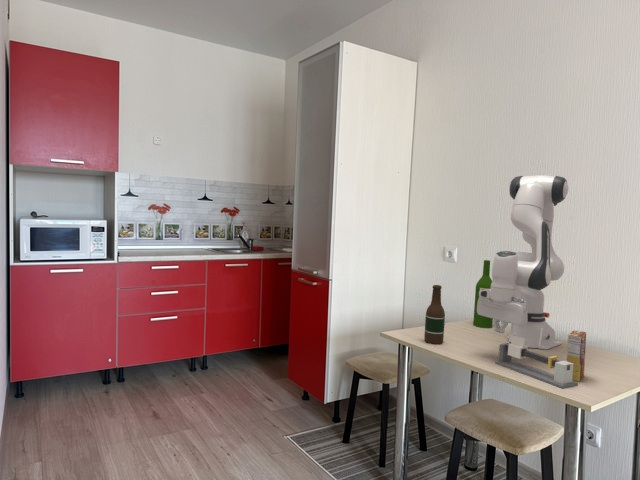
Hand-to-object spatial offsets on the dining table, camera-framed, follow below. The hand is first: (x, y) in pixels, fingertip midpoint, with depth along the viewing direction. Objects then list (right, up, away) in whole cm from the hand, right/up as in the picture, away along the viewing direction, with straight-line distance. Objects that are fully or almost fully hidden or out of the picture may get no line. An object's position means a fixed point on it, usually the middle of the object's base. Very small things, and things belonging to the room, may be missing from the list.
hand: (499, 332), depth 170 cm
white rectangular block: (+4, -7, -6) cm, 10 cm away
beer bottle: (-19, -9, +23) cm, 31 cm away
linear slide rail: (+7, -12, -12) cm, 18 cm away
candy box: (+20, -13, -14) cm, 28 cm away
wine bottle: (+14, -8, +57) cm, 59 cm away
